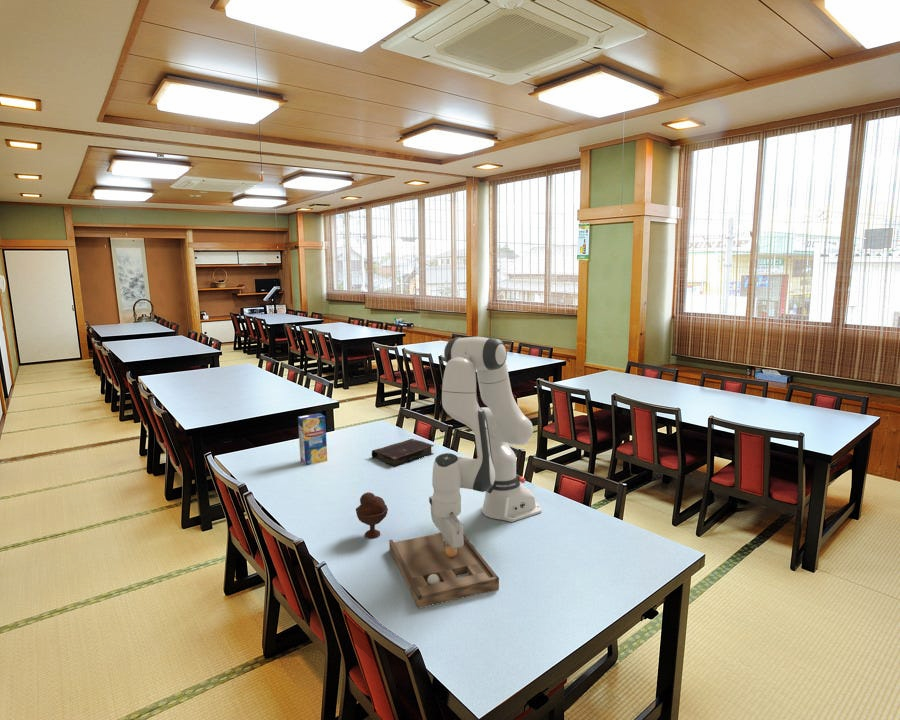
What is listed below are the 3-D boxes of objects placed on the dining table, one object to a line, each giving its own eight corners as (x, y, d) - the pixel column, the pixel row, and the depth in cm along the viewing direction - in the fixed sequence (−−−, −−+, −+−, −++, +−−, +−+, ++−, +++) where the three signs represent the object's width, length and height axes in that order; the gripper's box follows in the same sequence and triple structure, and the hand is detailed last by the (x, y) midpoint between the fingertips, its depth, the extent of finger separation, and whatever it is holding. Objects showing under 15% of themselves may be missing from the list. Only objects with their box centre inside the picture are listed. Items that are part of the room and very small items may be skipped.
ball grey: (437, 581, 154) (437, 570, 154) (441, 588, 151) (441, 577, 150) (425, 584, 153) (425, 573, 152) (429, 591, 150) (429, 579, 149)
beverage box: (300, 461, 251) (297, 416, 248) (322, 456, 258) (320, 413, 254) (305, 465, 246) (302, 420, 242) (327, 460, 252) (325, 416, 248)
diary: (371, 459, 256) (371, 449, 255) (411, 447, 273) (411, 437, 272) (395, 468, 243) (394, 458, 242) (435, 455, 260) (435, 445, 259)
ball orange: (459, 553, 161) (457, 558, 164) (456, 541, 163) (453, 546, 166) (448, 555, 160) (446, 560, 162) (445, 544, 162) (443, 549, 165)
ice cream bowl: (358, 545, 175) (357, 502, 172) (355, 529, 186) (353, 489, 183) (390, 540, 178) (389, 498, 175) (385, 525, 188) (384, 485, 186)
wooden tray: (458, 536, 180) (458, 527, 179) (498, 589, 150) (499, 577, 150) (389, 550, 172) (389, 540, 171) (418, 608, 142) (418, 596, 142)
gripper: (468, 519, 155) (468, 562, 157) (445, 492, 174) (445, 531, 176) (448, 523, 153) (449, 566, 155) (427, 495, 172) (427, 534, 174)
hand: (447, 547), depth 166 cm, fingers closed
